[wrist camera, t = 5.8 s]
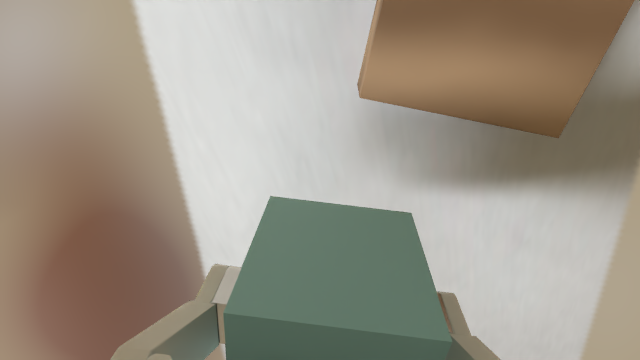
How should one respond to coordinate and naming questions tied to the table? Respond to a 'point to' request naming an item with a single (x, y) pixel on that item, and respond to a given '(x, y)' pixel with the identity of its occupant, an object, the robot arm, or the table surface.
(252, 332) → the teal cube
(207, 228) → the table surface
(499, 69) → the walnut block
